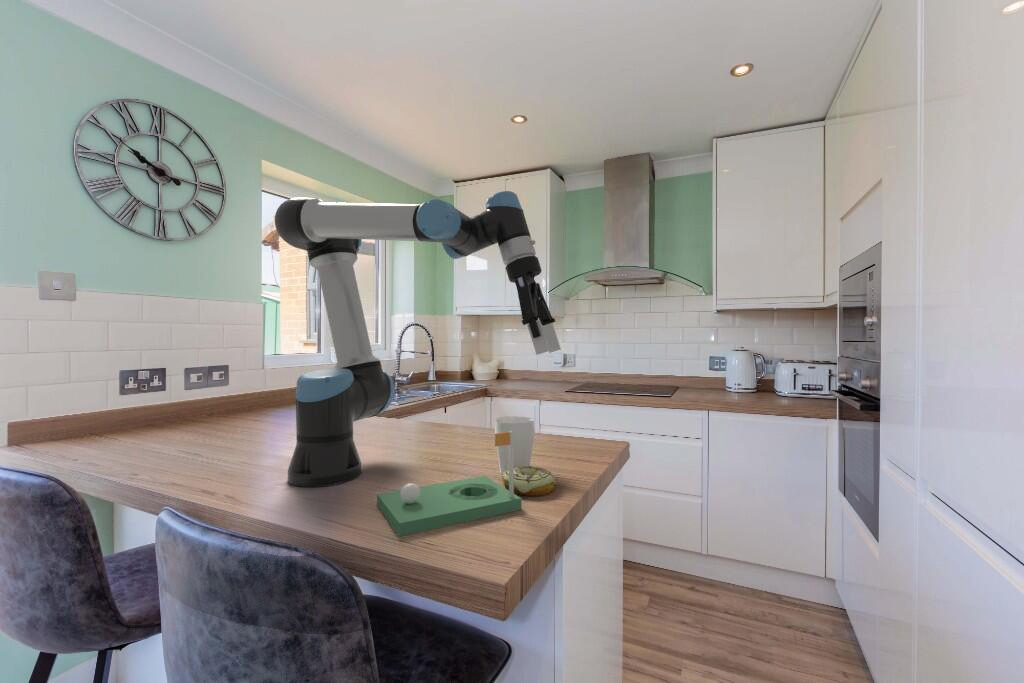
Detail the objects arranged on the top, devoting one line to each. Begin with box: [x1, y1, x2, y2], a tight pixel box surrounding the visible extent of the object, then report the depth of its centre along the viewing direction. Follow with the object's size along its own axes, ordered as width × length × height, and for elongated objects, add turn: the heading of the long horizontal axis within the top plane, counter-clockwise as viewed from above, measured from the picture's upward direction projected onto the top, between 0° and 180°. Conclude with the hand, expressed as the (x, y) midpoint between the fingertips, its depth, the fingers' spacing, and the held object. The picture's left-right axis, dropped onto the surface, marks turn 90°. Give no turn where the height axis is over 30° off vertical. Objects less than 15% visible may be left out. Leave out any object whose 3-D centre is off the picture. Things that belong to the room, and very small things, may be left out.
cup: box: [494, 415, 535, 475], centre depth 103 cm, size 9×9×12 cm
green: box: [376, 431, 522, 537], centre depth 82 cm, size 15×22×14 cm
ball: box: [400, 482, 420, 504], centre depth 79 cm, size 3×3×3 cm
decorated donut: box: [501, 465, 556, 497], centre depth 92 cm, size 10×11×4 cm
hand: (549, 352), depth 99 cm, fingers open, 13 cm apart
